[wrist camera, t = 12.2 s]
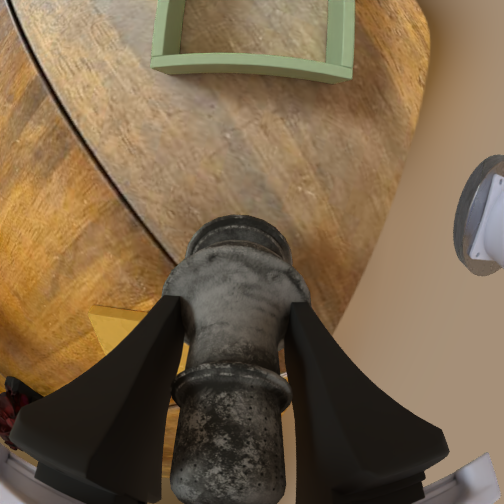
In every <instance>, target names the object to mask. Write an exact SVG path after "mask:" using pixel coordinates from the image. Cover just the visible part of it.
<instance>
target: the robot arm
mask: <svg viewBox="0 0 504 504" xmlns="http://www.w3.org/2000/svg"><path fill="white" fill-rule="evenodd" d="M469 256H470V258H471V259H477V260H491V261H496V262H497V263H498V264H499V265H500V266H501V267H502V268H503V269H504V177H502V176H500V175H498V174H495V175H494V176H493V178H492V183H491V187H490V191H489V195H488V198H487V202H486V206H485V209H484V213H483V216H482V219H481V222H480V225H479V228H478V231H477V234H476V237H475V240H474V242H473V245H472V248H471V250H470V253H469ZM184 337H185V332H184V328H183V324H182V317H181V302H180V296H172V295H164V296H163V297H161V299H160V300H159V301H158V302H157V303H156V304H155V306H154V307H153V308H152V309H151V310H150V311H149V312H148V314H147V315H146V316H145V317H144V318H143V319H142V320H141V321H140V322H139V323H138V325H137V326H136V327H135V328H134V329H133V330H132V331H131V332H130V333H129V334H128V335H127V336H126V337H125V338H124V339H123V340H122V341H121V342H120V343H119V344H118V345H117V346H116V347H115V348H114V349H113V350H112V351H111V352H109V353H108V354H107V355H106V356H105V357H104V358H103V359H101V360H100V361H99V362H98V363H97V364H95V365H94V366H93V367H91V368H90V369H89V370H87V371H86V372H85V373H83V374H82V375H80V376H79V377H78V378H76V379H75V380H73V381H72V382H70V383H69V384H67V385H65V386H64V387H62V388H60V389H58V390H57V391H55V392H53V393H51V394H49V395H47V396H45V397H43V398H41V399H39V400H37V401H35V402H32V403H30V404H28V405H25V406H23V407H21V409H20V411H19V413H18V415H17V418H16V420H15V422H14V425H13V427H12V430H11V432H10V435H9V439H10V441H11V442H12V443H14V444H15V445H16V446H17V447H19V448H20V449H21V450H23V451H24V452H26V453H27V454H29V455H30V456H31V457H33V458H34V459H36V460H37V461H39V462H38V466H37V467H34V466H33V465H31V464H29V463H28V462H26V461H25V460H23V459H21V458H20V457H18V456H17V455H15V454H14V453H12V452H11V451H9V449H7V448H6V447H5V446H3V445H2V444H1V443H0V504H147V502H149V503H156V502H158V501H159V500H161V476H162V456H163V444H164V434H165V425H166V418H167V411H168V407H169V402H170V398H171V393H170V388H171V383H172V380H173V379H174V378H175V377H176V376H177V372H178V368H179V365H180V361H181V357H182V351H183V344H184ZM284 353H285V365H286V371H287V377H288V382H289V385H290V386H291V388H292V394H293V398H292V405H293V410H294V418H295V433H296V460H297V462H296V463H297V464H296V465H297V467H296V468H297V469H296V471H297V473H296V474H297V475H296V476H297V478H296V479H297V480H296V504H493V503H494V502H495V501H497V500H498V499H499V498H500V497H501V493H500V489H499V485H498V482H497V478H496V475H495V471H494V468H493V465H492V462H491V459H490V456H489V453H488V452H486V453H484V454H483V455H482V456H480V457H478V458H477V459H475V460H473V461H472V462H470V463H468V464H467V465H465V466H463V467H462V468H460V469H458V470H457V471H456V472H454V473H452V474H450V475H448V476H446V477H444V478H442V479H440V480H438V481H436V482H434V483H432V484H430V485H428V486H425V487H423V486H422V482H421V481H423V480H425V478H426V477H425V473H424V471H425V470H426V469H428V468H430V467H431V466H433V465H435V464H436V463H438V462H440V461H441V460H443V459H444V458H445V457H447V455H448V454H449V452H450V451H449V448H448V445H447V442H446V439H445V437H444V434H443V432H442V430H441V429H440V428H438V427H436V426H434V425H432V424H430V423H428V422H427V421H425V420H423V419H421V418H420V417H418V416H416V415H414V414H413V413H412V412H410V411H409V410H407V409H406V408H404V407H403V406H401V405H400V404H399V403H397V402H396V401H395V400H393V399H392V398H391V397H390V396H388V395H387V394H386V393H385V392H383V391H382V390H381V389H380V388H378V387H377V386H376V385H375V384H374V383H373V382H372V381H371V380H370V379H369V378H368V377H367V376H366V375H365V374H364V373H363V372H362V371H360V369H359V368H358V367H357V366H356V365H355V364H354V363H353V362H352V361H351V359H350V358H349V357H348V356H347V355H346V354H345V353H344V351H343V350H342V349H341V347H340V346H339V345H338V344H337V343H336V341H335V340H334V338H333V337H332V336H331V335H330V333H329V332H328V330H327V329H326V328H325V326H324V325H323V323H322V322H321V321H320V319H319V318H318V316H317V315H316V313H315V312H314V310H313V309H312V307H311V306H310V305H309V303H308V302H292V303H291V310H290V317H289V323H288V327H287V331H286V334H285V337H284Z"/></svg>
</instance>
